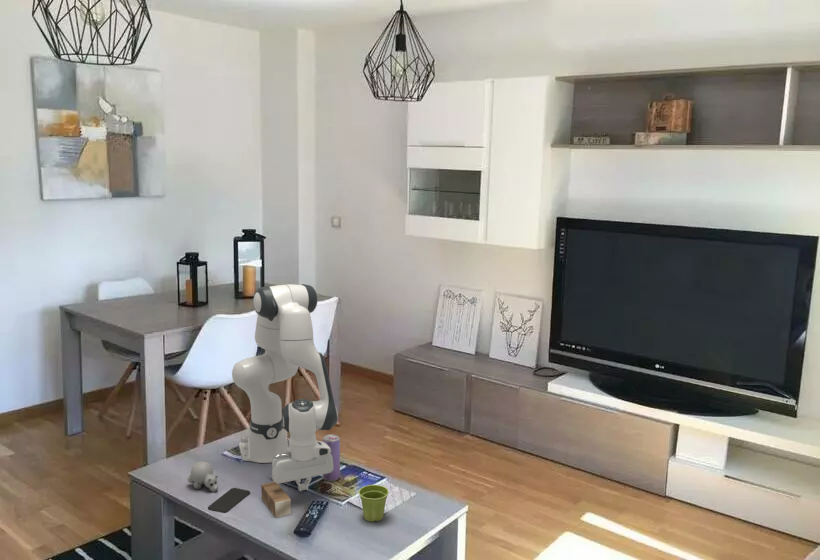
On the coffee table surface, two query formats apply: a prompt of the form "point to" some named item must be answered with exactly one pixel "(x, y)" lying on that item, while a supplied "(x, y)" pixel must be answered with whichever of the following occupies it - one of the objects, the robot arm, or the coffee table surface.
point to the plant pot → (373, 501)
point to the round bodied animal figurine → (203, 476)
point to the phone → (229, 500)
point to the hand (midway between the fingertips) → (303, 489)
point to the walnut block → (276, 499)
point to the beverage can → (333, 456)
